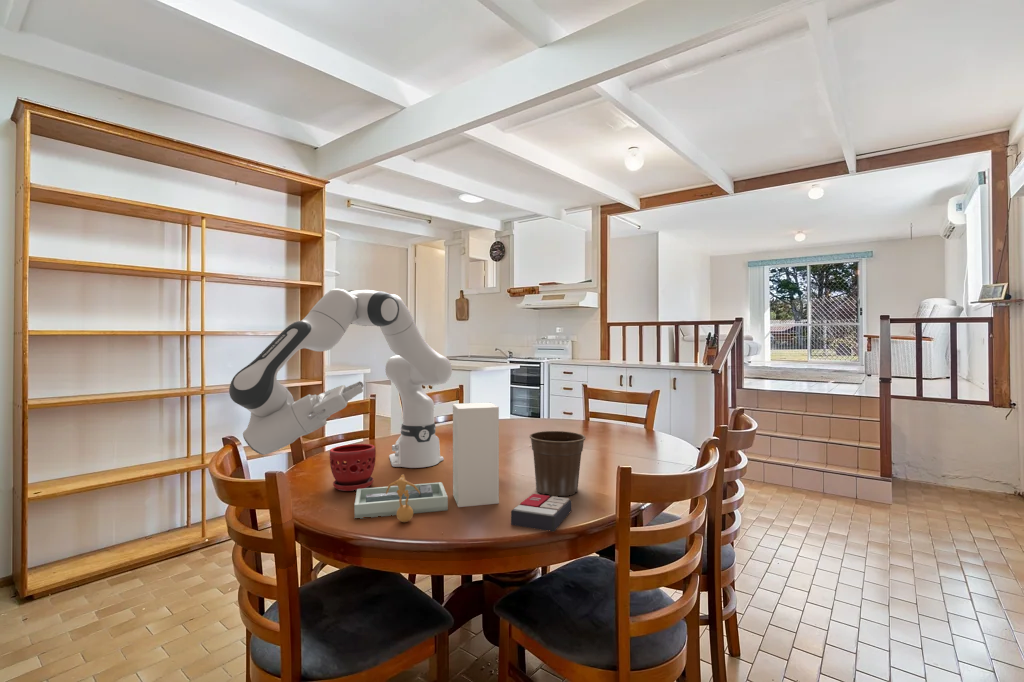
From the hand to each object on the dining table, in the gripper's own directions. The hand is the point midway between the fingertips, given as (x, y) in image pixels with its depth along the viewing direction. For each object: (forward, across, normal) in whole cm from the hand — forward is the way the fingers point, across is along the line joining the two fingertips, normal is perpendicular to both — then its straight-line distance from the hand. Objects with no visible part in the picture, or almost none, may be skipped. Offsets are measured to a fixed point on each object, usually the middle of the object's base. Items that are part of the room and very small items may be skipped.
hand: (362, 385), depth 125 cm
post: (+11, -2, +42) cm, 44 cm away
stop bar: (-6, -1, +32) cm, 33 cm away
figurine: (-6, -14, +33) cm, 36 cm away
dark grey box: (+23, -19, +49) cm, 57 cm away
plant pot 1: (-18, +20, +28) cm, 39 cm away
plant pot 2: (+33, -1, +54) cm, 63 cm away
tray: (-6, -1, +33) cm, 34 cm away
